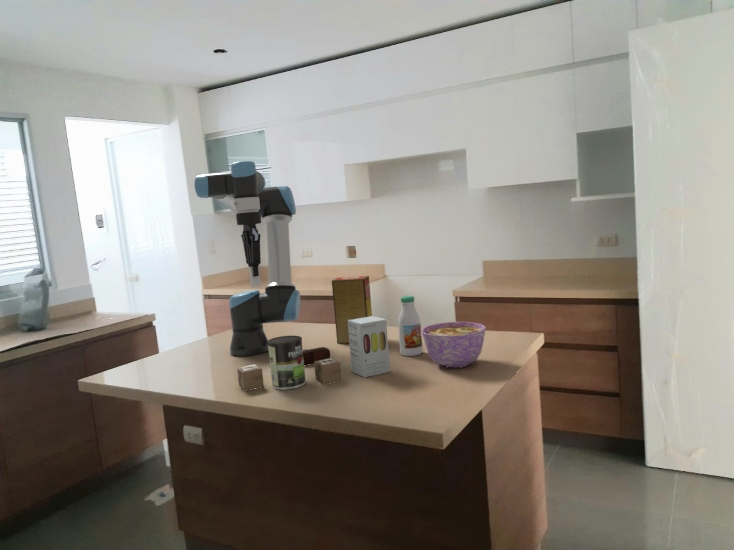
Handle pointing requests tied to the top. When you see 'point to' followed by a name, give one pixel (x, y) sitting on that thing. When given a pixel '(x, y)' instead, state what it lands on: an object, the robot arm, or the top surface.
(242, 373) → the number block left
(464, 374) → the top surface
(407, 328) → the milk bottle
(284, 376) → the coffee can
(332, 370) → the number block right
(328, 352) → the brick
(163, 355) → the top surface
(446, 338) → the bowl of food
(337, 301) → the food packaging
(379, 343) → the supplement box
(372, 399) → the top surface
